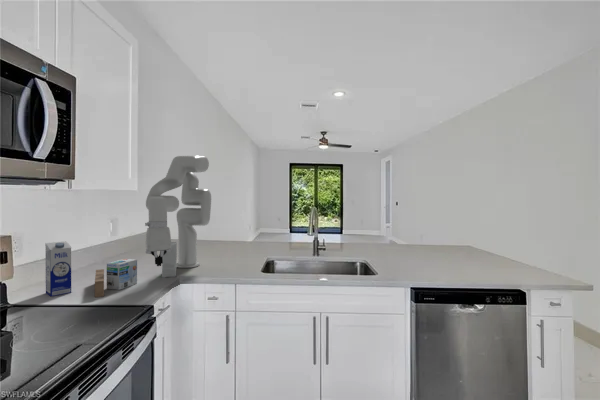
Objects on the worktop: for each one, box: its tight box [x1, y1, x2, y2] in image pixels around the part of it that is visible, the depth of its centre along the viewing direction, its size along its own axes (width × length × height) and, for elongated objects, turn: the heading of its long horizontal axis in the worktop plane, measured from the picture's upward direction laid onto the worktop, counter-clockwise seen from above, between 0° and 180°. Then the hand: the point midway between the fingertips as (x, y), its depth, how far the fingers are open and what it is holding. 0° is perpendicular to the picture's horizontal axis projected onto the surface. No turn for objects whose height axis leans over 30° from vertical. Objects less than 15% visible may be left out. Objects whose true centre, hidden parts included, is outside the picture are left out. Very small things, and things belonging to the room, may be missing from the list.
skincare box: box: [161, 241, 178, 278], centre depth 163 cm, size 8×7×16 cm
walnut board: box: [94, 269, 105, 298], centre depth 138 cm, size 22×3×6 cm, turn 30°
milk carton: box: [45, 240, 72, 297], centre depth 133 cm, size 7×7×20 cm
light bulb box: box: [106, 258, 138, 291], centre depth 144 cm, size 11×7×11 cm, turn 166°
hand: (158, 265), depth 151 cm, fingers closed
